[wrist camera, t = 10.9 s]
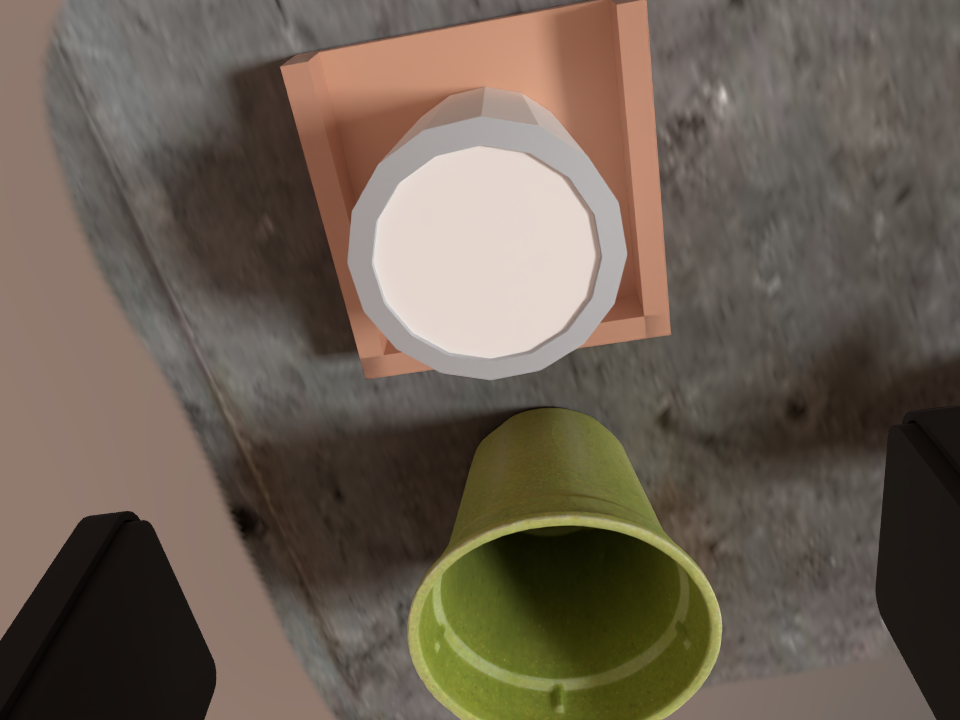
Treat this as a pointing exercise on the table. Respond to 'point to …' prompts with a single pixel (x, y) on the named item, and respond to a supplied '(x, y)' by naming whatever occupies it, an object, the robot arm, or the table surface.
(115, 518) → the robot arm
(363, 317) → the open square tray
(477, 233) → the white cup
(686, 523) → the table surface
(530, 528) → the plant pot
